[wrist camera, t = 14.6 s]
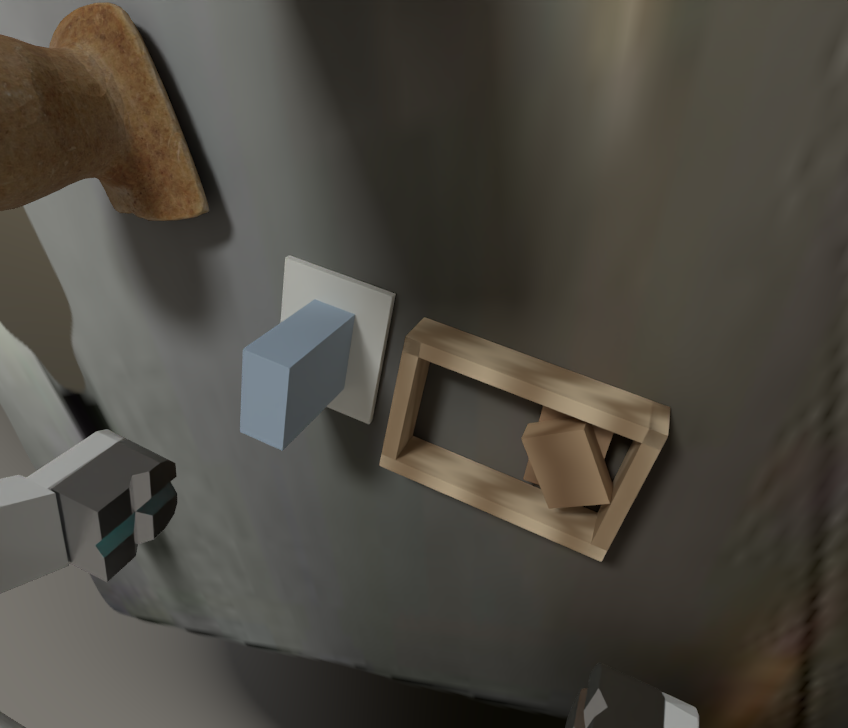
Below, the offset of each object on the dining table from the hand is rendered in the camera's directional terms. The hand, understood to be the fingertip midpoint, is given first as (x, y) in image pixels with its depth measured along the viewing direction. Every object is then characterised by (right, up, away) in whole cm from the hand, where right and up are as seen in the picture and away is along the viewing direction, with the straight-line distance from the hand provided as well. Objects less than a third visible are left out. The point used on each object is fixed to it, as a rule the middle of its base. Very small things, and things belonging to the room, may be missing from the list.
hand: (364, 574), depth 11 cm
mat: (-6, +6, +38) cm, 39 cm away
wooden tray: (+8, -1, +35) cm, 36 cm away
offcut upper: (+11, -3, +33) cm, 35 cm away
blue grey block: (-6, +5, +37) cm, 38 cm away
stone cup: (-21, +22, +36) cm, 47 cm away
